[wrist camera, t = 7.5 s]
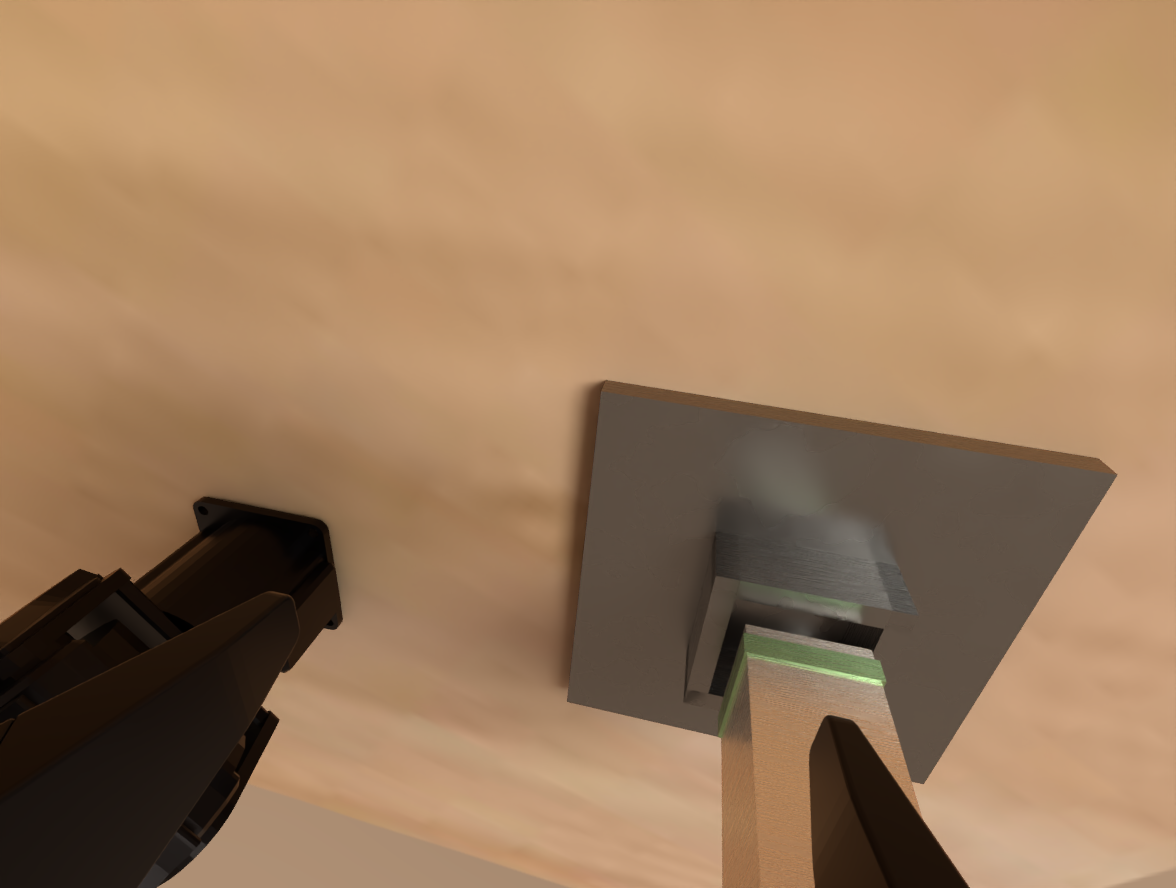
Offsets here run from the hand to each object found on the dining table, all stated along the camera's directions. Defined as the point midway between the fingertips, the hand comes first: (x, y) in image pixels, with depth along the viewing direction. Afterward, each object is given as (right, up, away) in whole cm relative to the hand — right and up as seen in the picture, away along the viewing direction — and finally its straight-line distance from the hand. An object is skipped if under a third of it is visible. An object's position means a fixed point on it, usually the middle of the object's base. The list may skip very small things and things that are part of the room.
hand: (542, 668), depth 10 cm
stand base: (+9, -2, +14) cm, 16 cm away
